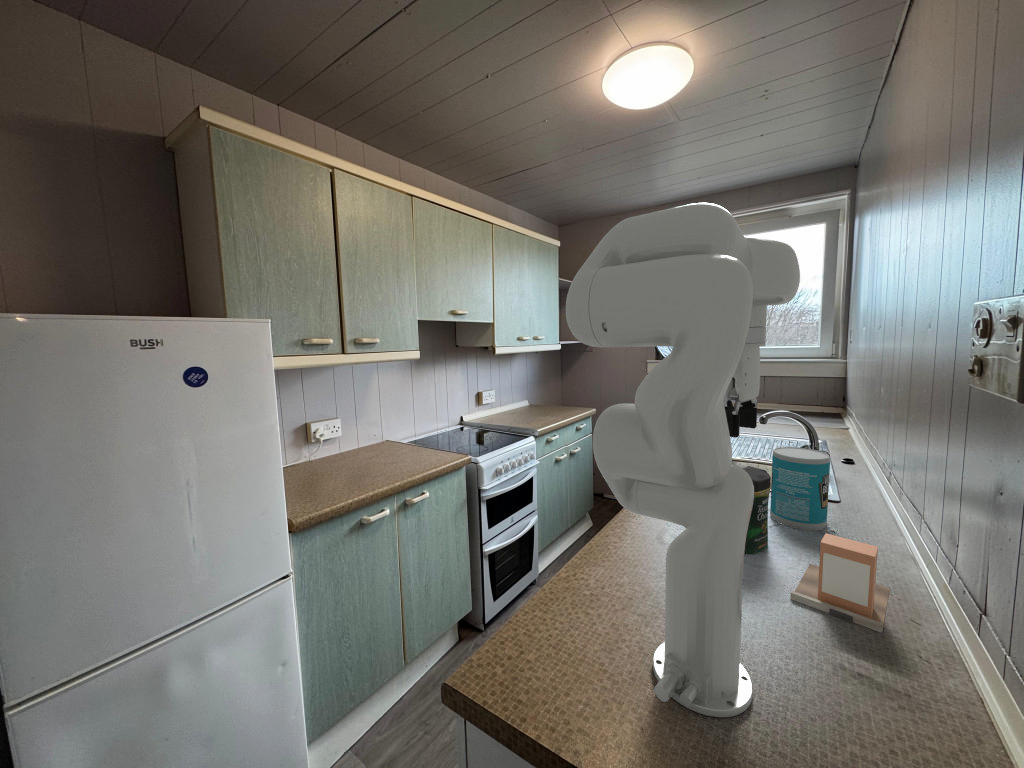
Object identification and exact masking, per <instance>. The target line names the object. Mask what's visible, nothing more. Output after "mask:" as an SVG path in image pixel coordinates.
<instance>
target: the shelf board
mask: <svg viewBox="0 0 1024 768" xmlns="http://www.w3.org/2000/svg"><path fill="white" fill-rule="evenodd" d="M818 582H819V565H815V564H813V563H809V564H808V566H807V568H806V570H805V572H804V573H803V574H802V577H801V579H800V580H799V583H798V584H797V586H796V588H795V590H791V591H790V600H791V601H794V602H796V603H797V602H798V603H800V604H802V605H804V606H808V607H810V608H813V609H815V610H818V611H821V612H823V613H827V614H828V615H831V616H833V617H836V618H837V619H838V618H839V619H841V620H843V621H846V622H848V623H849V622H850V623H854V624H856V625H859V626H862V627H865V628H867V629H870V630H872V631H875V632H877V633H880V634H883V629H884V624H885V618H886V614H887V613H886V611H887V608H888V601H889V596H890V590H891V588H890V587H887V586H883V585H880V584H877V583H875V598H874V610H873V614H872V618H871V619H870V618H867V617H865V616H862V615H859V614H856V613H853V612H851V611H848V610H845V609H842V608H839V607H837V606H834V605H831V604H828V603H825V602H823V601H820V600H818Z"/></svg>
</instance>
